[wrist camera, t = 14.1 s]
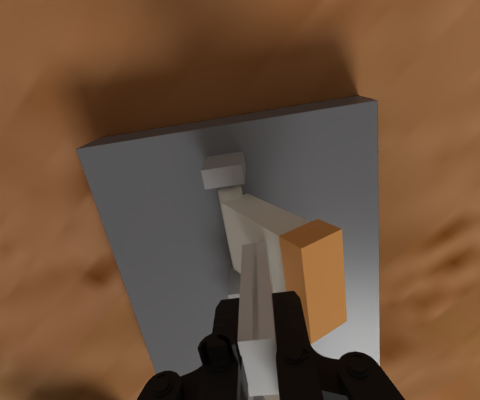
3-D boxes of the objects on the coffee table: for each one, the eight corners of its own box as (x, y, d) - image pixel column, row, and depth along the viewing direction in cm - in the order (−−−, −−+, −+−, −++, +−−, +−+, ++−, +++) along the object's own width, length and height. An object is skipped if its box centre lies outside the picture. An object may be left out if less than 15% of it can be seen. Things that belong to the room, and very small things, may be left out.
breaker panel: (177, 373, 35) (159, 444, 29) (101, 137, 26) (48, 161, 19) (365, 356, 33) (393, 428, 27) (358, 95, 24) (399, 105, 17)
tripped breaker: (224, 267, 24) (311, 348, 16) (208, 192, 22) (300, 242, 14) (251, 254, 25) (347, 325, 17) (239, 181, 23) (341, 223, 15)
